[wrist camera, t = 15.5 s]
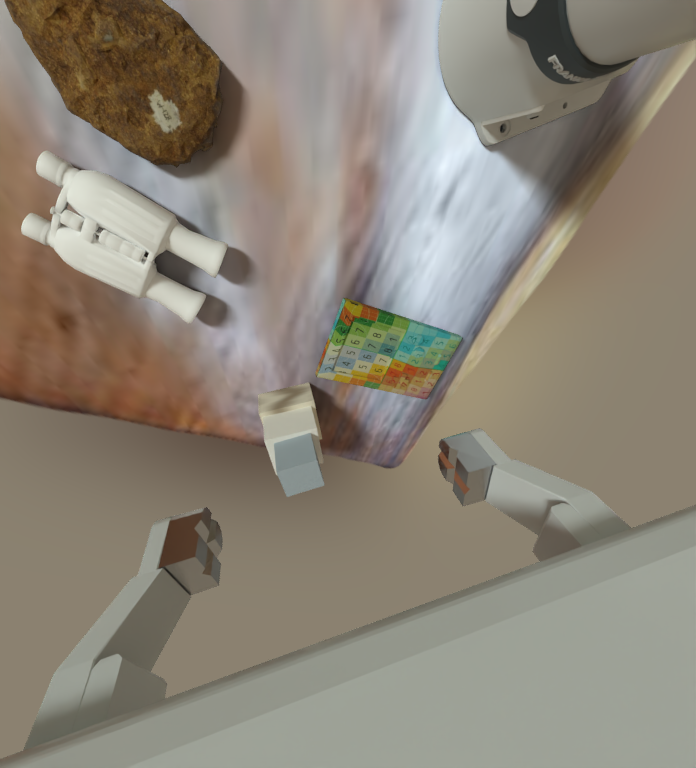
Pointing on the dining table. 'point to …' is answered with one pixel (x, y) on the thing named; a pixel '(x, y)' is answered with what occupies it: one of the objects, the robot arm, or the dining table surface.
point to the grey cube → (298, 464)
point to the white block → (290, 429)
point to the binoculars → (120, 236)
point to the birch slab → (288, 402)
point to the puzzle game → (385, 351)
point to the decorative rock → (128, 71)
